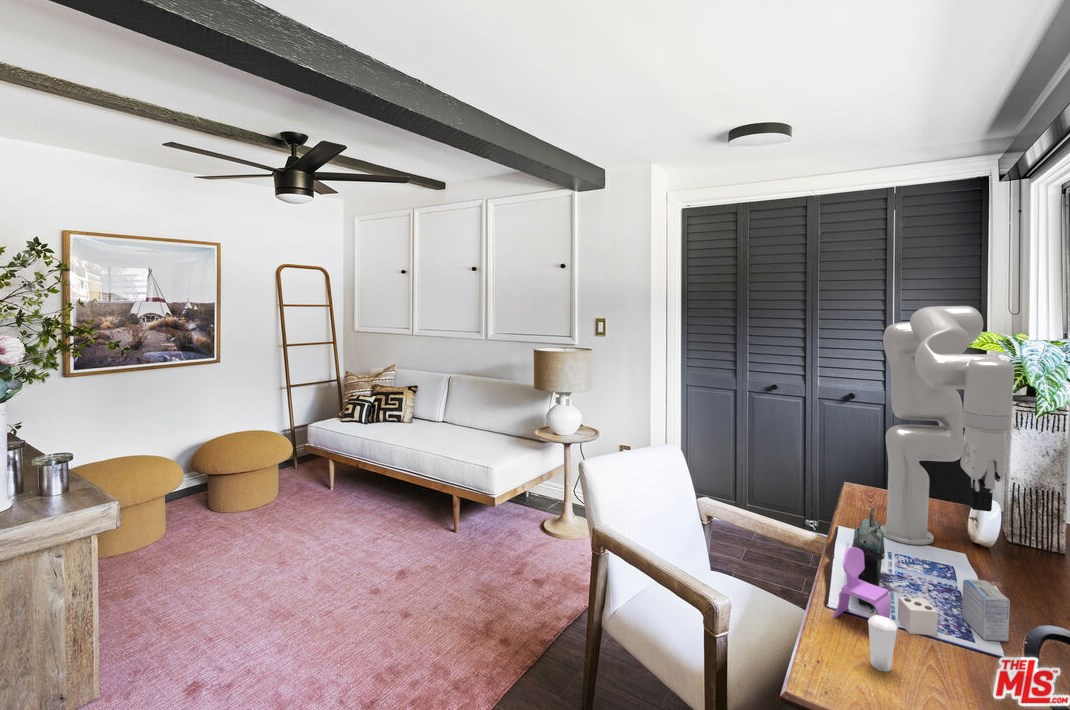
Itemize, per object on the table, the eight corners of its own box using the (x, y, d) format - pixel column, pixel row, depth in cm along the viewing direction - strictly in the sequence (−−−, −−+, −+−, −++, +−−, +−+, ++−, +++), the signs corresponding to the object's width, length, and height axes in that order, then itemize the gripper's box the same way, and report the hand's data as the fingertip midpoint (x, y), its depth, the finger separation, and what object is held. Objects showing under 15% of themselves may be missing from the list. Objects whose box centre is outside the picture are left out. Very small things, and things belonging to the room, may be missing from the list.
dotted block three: (897, 619, 116) (898, 596, 116) (924, 621, 116) (925, 597, 115) (909, 633, 112) (910, 609, 111) (937, 635, 111) (938, 611, 110)
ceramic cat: (882, 613, 119) (886, 523, 117) (848, 605, 122) (850, 517, 120) (883, 574, 135) (886, 494, 134) (852, 568, 139) (855, 490, 137)
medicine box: (1009, 642, 108) (1011, 600, 107) (982, 640, 109) (985, 598, 108) (985, 619, 116) (987, 579, 115) (960, 617, 116) (962, 578, 116)
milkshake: (894, 680, 98) (896, 626, 97) (862, 664, 102) (863, 613, 101) (905, 670, 101) (907, 617, 100) (873, 655, 105) (875, 604, 104)
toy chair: (875, 639, 110) (878, 566, 109) (830, 619, 117) (832, 550, 116) (893, 624, 115) (896, 554, 113) (848, 606, 122) (850, 540, 120)
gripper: (953, 412, 120) (948, 494, 122) (974, 428, 106) (968, 520, 108) (997, 414, 117) (991, 498, 119) (1024, 431, 103) (1017, 526, 105)
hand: (980, 509), depth 114 cm, fingers closed
